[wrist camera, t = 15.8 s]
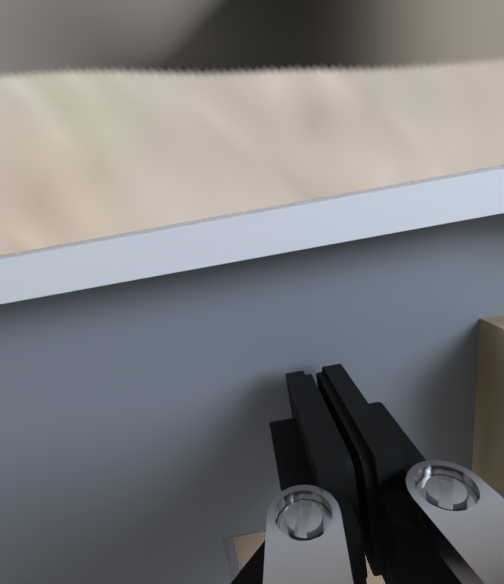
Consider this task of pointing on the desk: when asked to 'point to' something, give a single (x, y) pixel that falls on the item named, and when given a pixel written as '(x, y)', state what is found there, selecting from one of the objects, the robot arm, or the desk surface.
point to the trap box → (226, 367)
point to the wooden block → (490, 405)
